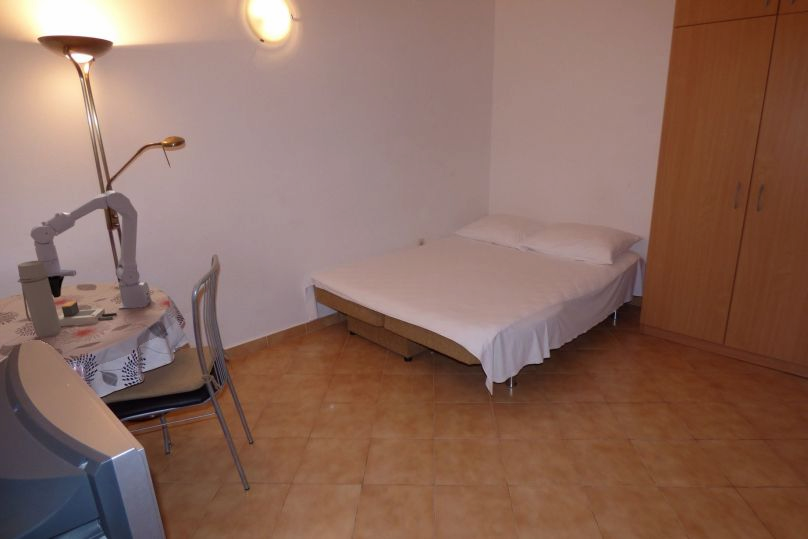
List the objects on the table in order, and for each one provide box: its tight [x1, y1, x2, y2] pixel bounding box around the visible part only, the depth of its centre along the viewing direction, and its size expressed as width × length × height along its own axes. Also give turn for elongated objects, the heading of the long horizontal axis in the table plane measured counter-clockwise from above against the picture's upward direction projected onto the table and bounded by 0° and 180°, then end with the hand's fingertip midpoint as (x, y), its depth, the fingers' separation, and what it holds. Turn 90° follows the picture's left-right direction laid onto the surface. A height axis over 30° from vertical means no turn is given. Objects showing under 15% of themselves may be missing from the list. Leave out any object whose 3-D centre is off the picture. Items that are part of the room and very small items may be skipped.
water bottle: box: [17, 260, 62, 339], centre depth 161 cm, size 9×8×25 cm
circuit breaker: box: [58, 308, 106, 327], centre depth 175 cm, size 13×8×3 cm, turn 99°
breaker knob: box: [61, 300, 80, 317], centre depth 174 cm, size 3×4×4 cm, turn 9°
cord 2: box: [102, 312, 117, 317], centre depth 178 cm, size 5×1×1 cm, turn 99°
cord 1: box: [98, 316, 114, 321], centre depth 175 cm, size 5×1×1 cm, turn 99°
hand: (57, 296), depth 172 cm, fingers closed
